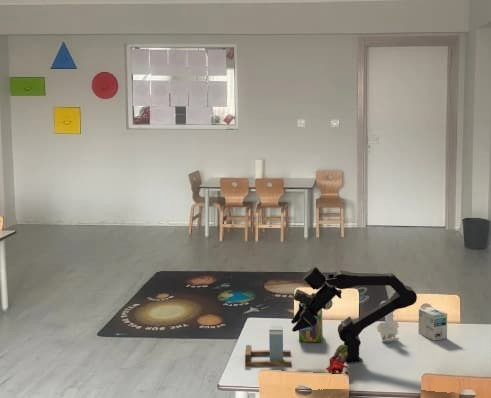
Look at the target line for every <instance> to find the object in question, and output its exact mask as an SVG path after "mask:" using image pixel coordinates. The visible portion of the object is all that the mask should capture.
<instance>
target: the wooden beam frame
mask: <svg viewBox="0 0 491 398" xmlns="http://www.w3.org/2000/svg"><path fill="white" fill-rule="evenodd" d="M244 353H245V354H244V357H245V359H244V361H245V362H244V366H245V367H286V366H287V367H292V359H290V360H287V359H286V360H285V359H283V360H270V359H269V360H252V357H253V356H270V349H269V350H268V349H267V350H266V349H263V350H262V349H261V350H255V349H253V350H252V345H251V344H246V345H245V352H244ZM291 355H292V352H291V349H283V356H291Z"/></svg>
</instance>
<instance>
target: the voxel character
mask: <svg viewBox="0 0 491 398" xmlns="http://www.w3.org/2000/svg"><path fill="white" fill-rule="evenodd" d="M385 301H386V300H382V301H381V302H380V303H379V304H378V306H379V305H380V304H382V303H384V302H385ZM394 312H395V310H394V311H393V312H391V313H389V314H388V315H386V316H384V319H385V322H380V323H379V324H378V325H377V326H376V328H377V332H378V333H380V337H381V340H383V343H390V342H398V341H399V340H400V339H399V338H400V337H397V335H398V334H399V330H398V328H399V324H398V321H395V320H394V317H395V315H394Z"/></svg>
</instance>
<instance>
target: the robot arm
mask: <svg viewBox="0 0 491 398" xmlns="http://www.w3.org/2000/svg"><path fill="white" fill-rule="evenodd" d="M302 280H303V281H304V282H305V283H306V285H308V286H309V287H310V288H311V289H313V290H316V292H312V293H311V294H309V293H308V292H305V291H303V290H300V289H298V288H297V289H296V291H295V292H294V295H293V300H294V301H296V302H298V309H297V312H296V313H295V315H294V316H293V318H292V320H291V321H290V322H291V324H293V325H294V324H295V325H294V326H293V328H292V329H291V331H292V332H294V333H295V332H299V330H301V329H304V328H307V327H312V326H315V325H316V324H317V317H316V316H317V315H318V312H319V311H320V310H321V309H322V310H324V309H325V308H326V307H327V305H328V304H329V303H330V302H331V300H333V299H334V298H335V297H338V298H339V299H342V293H343V291H342V290H346V289H351V288H354V287H357V286H358V287H359V286H365V287H366V286H390V287H391V288H392V289H393V290H394V293H393V294H392V295H391V296H390V298H389V299H387V300H384V301H385V302H384V303H382V304H380V303H379V304H380V305H379V304H378V305H377V306H375V307H374V308H372V309H370V310H369V311H367V312H365V313H364V314H363V315H360V316H359V317H357V318H352V317H351V316H348V317H347V318H345V319H344V320H341V321H340V322H341V323H340V324H338V327H337V333H338V334H337V335H338V336H339V339H340V340H341V342H343V345H347V346H348V349H347V354H348V356H347V359H346V360H345V363H346V364H350V363H352V364H353V363H357V362H363V361H364V360H363V358H362V357H361V356H360V346H361V343H362V342H361V339H360V337H359V335H360V334H361V333H362V332H363V331H364V330H365V329H366V328H368V327H370V326H371V325H373V324H374V323H377V321H378V322H379V320H381V319H383V318H385V316H386V315H388V314H389V313H391V312H393V311H394V312H395V311H396V310H400V309H405V308H407V307H410V306H412V305H414V304H415V303H416V302H417V300H418V296H417V293H416V292H415V289H414V290H413V288H412V286H409V285H405V283H403V282H402V281H401V280H400V279H399V278H398V277H397V276H396V275H395V273H392V272H388V273H356V272H355V273H354V272H351V271H346V270H336V271H335V272H333V273H328V274H324V273H322V271H321V270H320V269H319V268H318V267H317V266H314V267H313V268H311V269H310V270H308V271H307V272H306V273H305V274H304V275H303V277H302ZM394 312H393V313H394Z"/></svg>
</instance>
